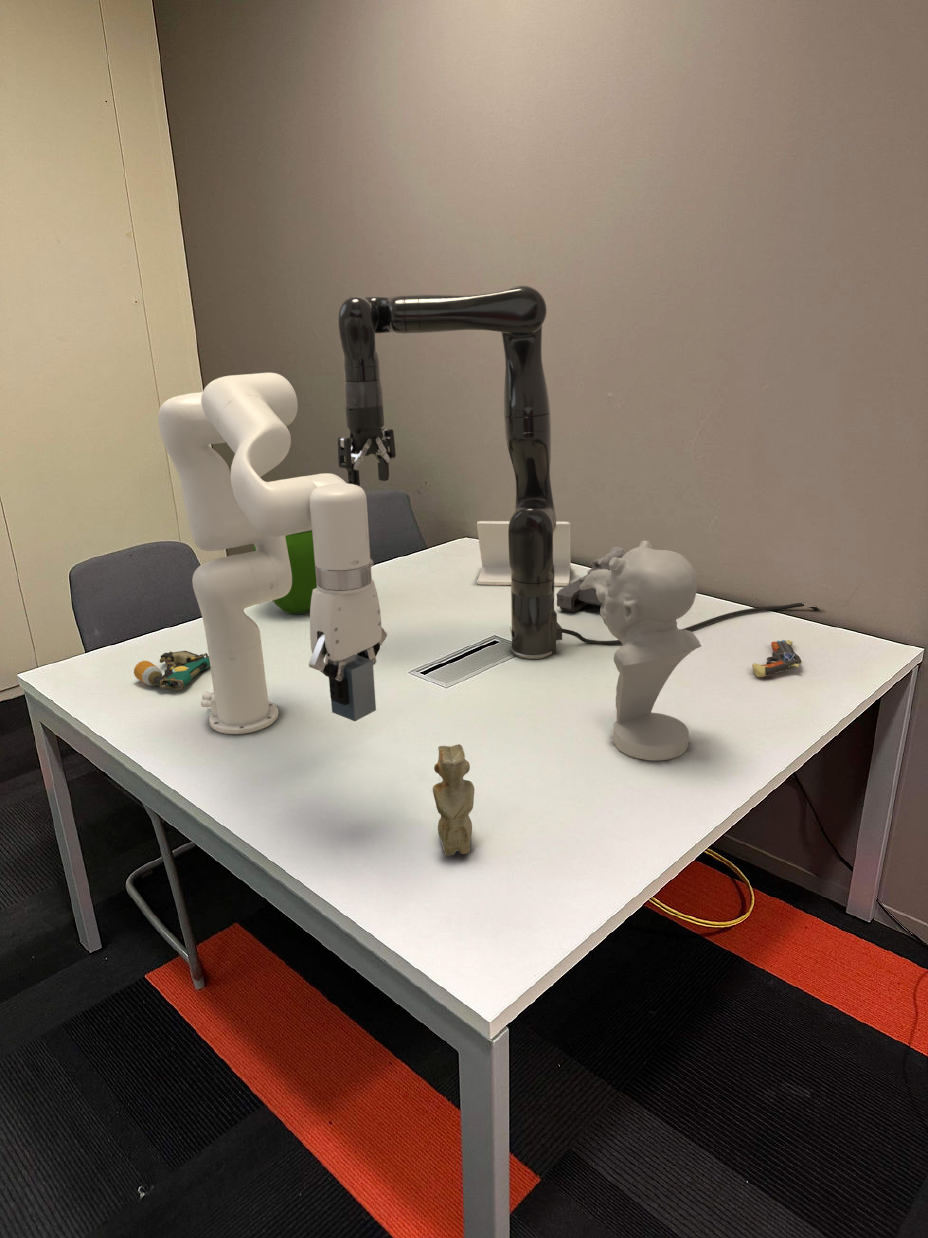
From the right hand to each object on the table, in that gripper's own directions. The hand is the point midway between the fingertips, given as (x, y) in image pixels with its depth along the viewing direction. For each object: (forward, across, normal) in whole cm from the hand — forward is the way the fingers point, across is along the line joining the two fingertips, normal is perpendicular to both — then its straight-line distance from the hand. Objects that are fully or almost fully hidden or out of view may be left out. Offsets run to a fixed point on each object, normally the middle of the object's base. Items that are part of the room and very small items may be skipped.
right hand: (369, 484), depth 176 cm
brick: (+20, +48, +41) cm, 66 cm away
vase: (+38, -10, -37) cm, 54 cm away
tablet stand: (+38, -64, -5) cm, 75 cm away
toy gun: (+38, -43, +72) cm, 92 cm away
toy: (+38, -56, +28) cm, 74 cm away
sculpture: (+38, +46, +57) cm, 83 cm away
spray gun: (+38, +33, -28) cm, 58 cm away
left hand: (+18, +48, +41) cm, 65 cm away
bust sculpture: (+38, +3, +63) cm, 73 cm away
